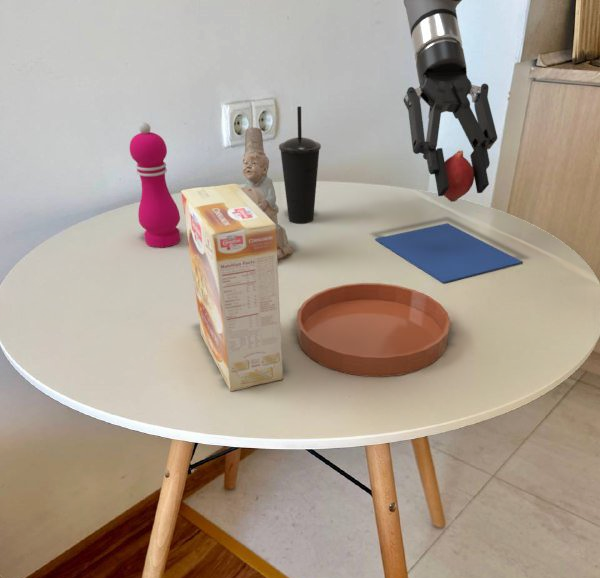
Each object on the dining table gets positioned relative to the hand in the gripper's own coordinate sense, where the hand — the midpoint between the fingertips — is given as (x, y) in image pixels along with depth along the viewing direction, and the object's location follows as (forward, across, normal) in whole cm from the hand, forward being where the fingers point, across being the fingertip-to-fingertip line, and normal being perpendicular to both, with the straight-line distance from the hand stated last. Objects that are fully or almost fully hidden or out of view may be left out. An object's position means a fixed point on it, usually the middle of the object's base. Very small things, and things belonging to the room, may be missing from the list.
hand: (463, 190), depth 92 cm
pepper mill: (-5, +48, -22) cm, 53 cm away
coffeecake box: (+24, +38, +8) cm, 46 cm away
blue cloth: (+6, 0, -11) cm, 12 cm away
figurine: (+2, +30, -14) cm, 34 cm away
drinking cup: (-9, +22, -26) cm, 35 cm away
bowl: (+23, +20, +7) cm, 31 cm away
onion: (0, 0, -5) cm, 5 cm away
